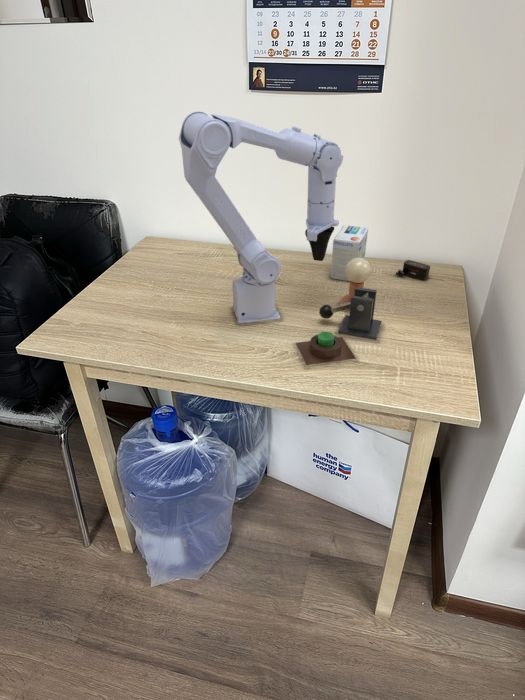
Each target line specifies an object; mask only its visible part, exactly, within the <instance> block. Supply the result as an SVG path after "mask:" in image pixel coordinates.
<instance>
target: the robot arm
mask: <svg viewBox="0 0 525 700" xmlns="http://www.w3.org/2000/svg"><path fill="white" fill-rule="evenodd" d="M178 140H179V144H180V148H181V157H182V165H183V166H182V167H183V175H184V179H185V181H186V182H187V184H188V185H189V186H190V188H191V189H192V191H193V192H194V194H195V195H196V196H197V197H198V199H199V200H200V202H201V203H202V204H203V206H204V207H205V209H206V210H207V211H208V213H209V214H210V215H211V217H212V219H214V221H215V222H216V224H217V225H218V227H219V228H220V229H221V231H222V232H223V233H224V235H225V237H227V239H228V241H229V242H230V243H231V245H232V246H233V249H234V251H235V253H236V255H237V262H238V264H239V265H240V266H241V267H242V269H243V270H242V275H241V276H240V277H239V278H235V279H233V280H232V284H231V285H232V288H231V289H232V309H233V312H234V315H235V318H236V320H237V322H238V323H239V324H245V323H253V322H262V321H270V320H272V321H273V320H279V319H281V315H280V313H279V312H278V309H277V307H276V293H277V292H276V291H277V289H276V288H277V287H276V283H277V279H278V278H279V276H280V273H281V271H282V265H281V261H280V260H279V259H278V258H277V257H276V256H274V255H273V254H272V253H270V252H269V251H268V250H267V249H266V247H264V245H263V244H262V243H261V241H260V240H258V238H257V237H256V235H255V234H254V232H253V231H252V230H251V228H250V226H249V224H248V223H247V222H246V221H245V219H244V218H243V216H242V215H241V213H240V211H239V210H238V209H237V207H236V206H235V204H234V203H233V201H232V199H231V198H230V197H229V195H228V194H227V193H226V191H225V190H224V187H222V185H221V184H220V182H219V180H218V179H217V178H216V174H217V170H218V167H219V165H220V163H221V162H222V161H223V158H224V157H225V155H226V153H227V152H228V150H229V148H231V149H235V148H237V147H238V146H239V145H241V143H244V144H249V145H252V146H257V147H261V148H265V149H269V150H273V151H274V152H275V155H276V157H277V158H278V159H279V160H283V161H286V162H290V163H293V164H297V165H301V166H304V167H307V168H308V169H307V205H306V219H305V224H306V229H305V231H304V235H305V237H306V241H308V242H309V245H310V250H311V254H312V258H313V261H317V262H323V261H324V260H325V257H326V253H327V250H328V245H329V242H330V239H331V237H332V234H333V233H334V231H335V227H338V226H339V225H340V220H338V219H335V218H334V217H335V205H336V204H335V201H336V184H337V177H338V171H339V169H340V167H341V166H342V163H343V162H344V161H343V160H344V155H342V151H341V147H339V145H338V144H337V143H336V142H334V141H331V140H328V139H326V138H323V137H321V134H317V133H313V135H311V134H309V133H305V132H302V128H300V127H297V126H294V125H293V126H292V127H290V128H289V127H286V128H283V129H282V130H280V131H279V132H277V131H274V130H271V129H268V128H265V127H262V126H259V125H256V124H253V123H250V122H248V121H244V120H241V119H239V118H235V117H232V116H226V115H221V114H217V113H216V114H215V113H210V115H208V114H207V113H206V112H204V111H199V110H197V111H192V112H191V113H189V114H188V115H186V116H185V118H184V119H183V121H182V124H181V127H180V131H179V135H178Z"/></svg>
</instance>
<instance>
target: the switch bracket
mask: <svg viewBox="0 0 525 700" xmlns="http://www.w3.org/2000/svg"><path fill="white" fill-rule="evenodd" d="M377 292H378V290H377V289H371V288H365V287H364V288H359V287H356V288H355V294H354V296H352V297H351V304H350V311H349V314H345V315H344V317H343V319H342V321H341V324H340V327H339V328H338V333H337V334H339V335H345V336H351V337H357V338H362V339H368V340H372V341H373V340H374V341H377V339H378V336H379V333H380V330H381V327H382V322H383V321H382V320H380V319H374V315H375V309H376V300H377ZM365 293H369V295H370V298H365V297H359V296H358V295H362V294H365Z"/></svg>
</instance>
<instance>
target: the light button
mask: <svg viewBox="0 0 525 700" xmlns="http://www.w3.org/2000/svg"><path fill="white" fill-rule="evenodd" d="M317 334H318V345H320V346H322V347H331V346H333V344H334V336H335V335H334V333H332V332H330V331H322V332H319V333H317Z"/></svg>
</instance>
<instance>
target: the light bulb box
mask: <svg viewBox="0 0 525 700" xmlns="http://www.w3.org/2000/svg"><path fill="white" fill-rule="evenodd" d="M368 233H369V228H368V227H364V226H356V225H355V226H354V225H347V224H343V225H342V227H341V228H340V230H339V232H338V233H337V234H336V236H335V237H334V238H333V240H332V252H331V254H332V255H331V267H330V279H333V280H341V281H344V282H345V281H346V282H350V280H349V279H348V278H347V276H346V273H345V269H346V265H347V264H348V262H349V261H350V260H352V259H354V258H363V259H365V260H366V251H367V242H368Z"/></svg>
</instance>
